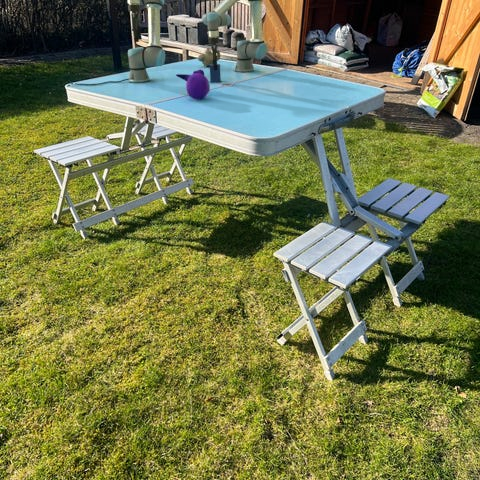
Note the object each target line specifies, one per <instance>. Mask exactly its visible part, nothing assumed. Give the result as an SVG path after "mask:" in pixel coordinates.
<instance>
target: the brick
mask: <svg viewBox="0 0 480 480" xmlns="http://www.w3.org/2000/svg"><path fill="white" fill-rule="evenodd" d="M209 77H210V78H209V79H210V80H209V83H221V82H222V78H221V63H217V70H215V71H214V66H213V64H210V67H209Z"/></svg>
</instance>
